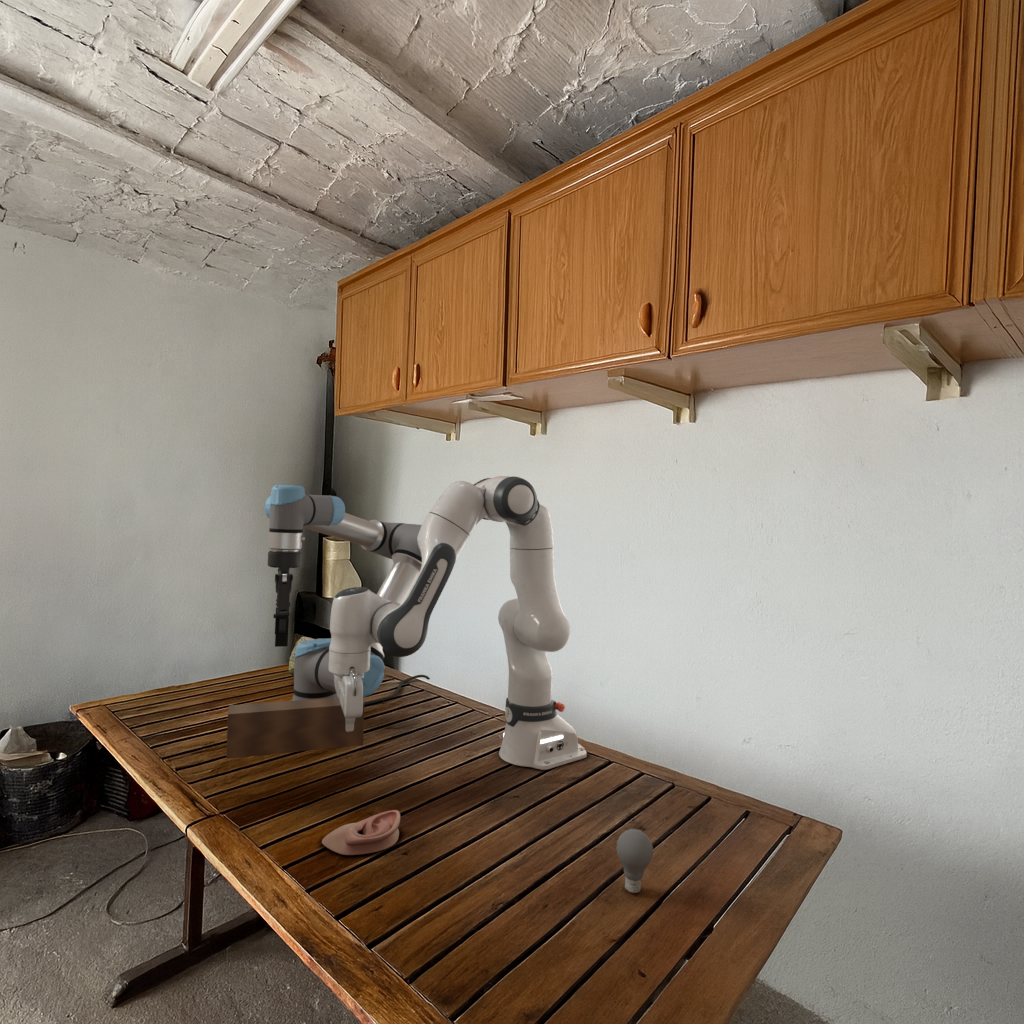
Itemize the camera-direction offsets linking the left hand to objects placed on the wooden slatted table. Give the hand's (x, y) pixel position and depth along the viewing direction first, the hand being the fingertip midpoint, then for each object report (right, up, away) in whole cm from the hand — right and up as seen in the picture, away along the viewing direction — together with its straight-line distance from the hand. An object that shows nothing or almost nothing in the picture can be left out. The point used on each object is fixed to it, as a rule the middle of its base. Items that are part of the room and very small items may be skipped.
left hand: (280, 639), depth 150 cm
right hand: (+19, -16, -11) cm, 27 cm away
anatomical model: (+27, -31, -32) cm, 52 cm away
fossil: (-12, -27, +65) cm, 72 cm away
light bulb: (+75, -33, -44) cm, 93 cm away
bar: (+9, -20, -15) cm, 26 cm away
